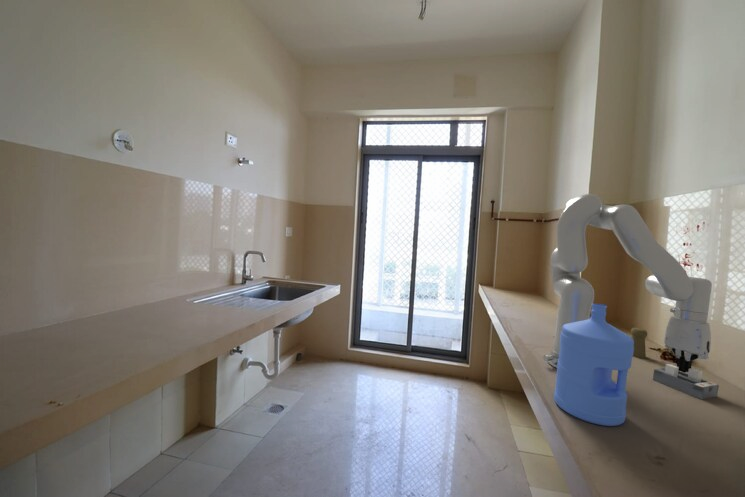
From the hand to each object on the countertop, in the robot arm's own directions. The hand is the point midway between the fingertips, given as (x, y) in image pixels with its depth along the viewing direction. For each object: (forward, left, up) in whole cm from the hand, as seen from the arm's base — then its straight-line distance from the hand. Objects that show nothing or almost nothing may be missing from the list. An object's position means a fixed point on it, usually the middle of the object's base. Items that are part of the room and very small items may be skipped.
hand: (683, 371), depth 104 cm
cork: (+14, +22, -5) cm, 26 cm away
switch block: (-2, -2, -4) cm, 5 cm away
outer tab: (0, -3, -2) cm, 4 cm away
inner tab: (-5, +1, -2) cm, 5 cm away
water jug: (-48, -4, -5) cm, 49 cm away
